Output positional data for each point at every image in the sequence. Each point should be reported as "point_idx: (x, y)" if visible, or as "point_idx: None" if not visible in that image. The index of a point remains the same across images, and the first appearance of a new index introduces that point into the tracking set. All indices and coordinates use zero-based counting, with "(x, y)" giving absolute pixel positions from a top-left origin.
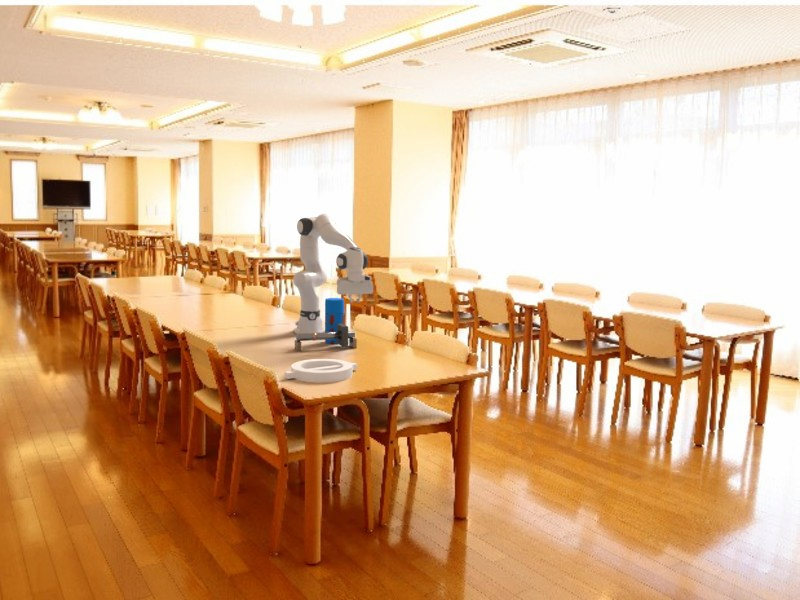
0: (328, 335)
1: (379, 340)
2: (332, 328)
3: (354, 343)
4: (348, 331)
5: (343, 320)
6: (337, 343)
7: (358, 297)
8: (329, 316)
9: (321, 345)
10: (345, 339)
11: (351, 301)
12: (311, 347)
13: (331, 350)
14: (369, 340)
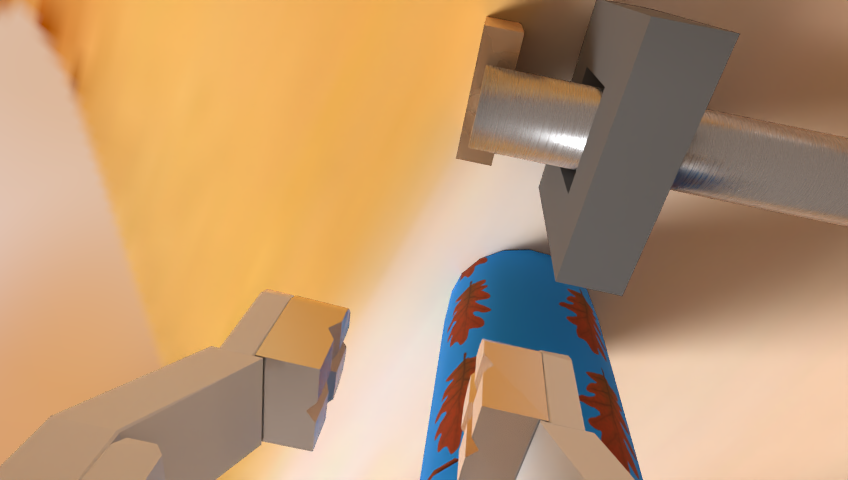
0: (813, 135)
1: (178, 210)
2: (590, 346)
3: (507, 25)
4: (549, 122)
5: (457, 393)
6: (533, 251)
7: (222, 470)
8: (637, 469)
9: (679, 259)
10: (644, 9)
11: (556, 362)
12: (807, 231)
13: (763, 27)
14: (250, 244)
